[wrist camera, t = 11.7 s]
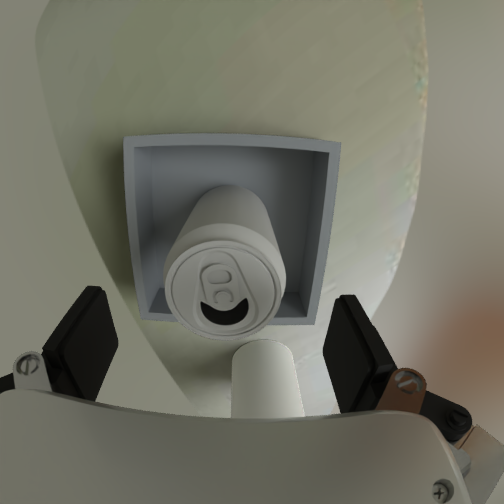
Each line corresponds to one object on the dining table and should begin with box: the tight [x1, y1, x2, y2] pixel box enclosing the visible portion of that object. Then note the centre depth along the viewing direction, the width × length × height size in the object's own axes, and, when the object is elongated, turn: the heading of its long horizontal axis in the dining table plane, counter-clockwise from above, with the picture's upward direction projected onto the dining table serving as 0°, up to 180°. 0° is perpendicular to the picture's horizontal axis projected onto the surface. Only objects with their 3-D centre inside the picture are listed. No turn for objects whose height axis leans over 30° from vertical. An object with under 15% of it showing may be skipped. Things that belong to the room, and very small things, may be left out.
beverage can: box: [163, 185, 286, 340], centre depth 19 cm, size 6×6×12 cm
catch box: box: [123, 133, 341, 325], centre depth 23 cm, size 15×15×5 cm
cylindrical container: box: [231, 340, 305, 418], centre depth 21 cm, size 7×7×25 cm
